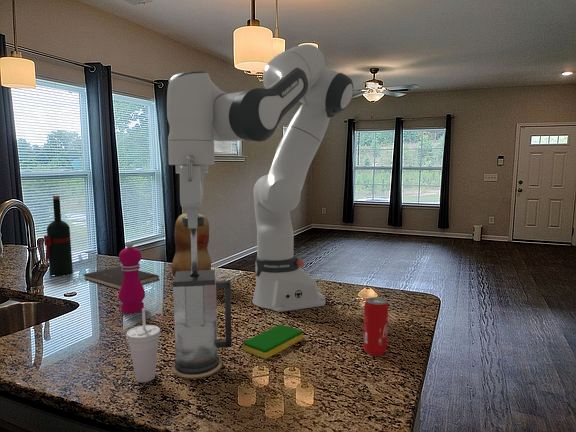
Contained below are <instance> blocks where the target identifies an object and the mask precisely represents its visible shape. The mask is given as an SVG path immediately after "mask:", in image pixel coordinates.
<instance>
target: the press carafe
mask: <svg viewBox="0 0 576 432" xmlns="http://www.w3.org/2000/svg"><path fill="white" fill-rule="evenodd" d="M215 273H216V272H215V269H211V270H198V277H192V271H176V274H175V277H174V276H173V277H174V278H173V280H172V291H173V295H172V296H173V321H174V344H175V345H174V347H175V348H174V349H175V350H174V351H175V358H174V361H173V362H172V364H171V372H172V374H173V375H174V376H176V377H178V378H180V379H186V380H198V379H204V378H207V377H210V376H213V375H215V374H217V373H218V372H220V370H221V369H222V367H223V359H222V357H220V355H219V353H218V352H219V351H218V350H219V349H224V348H232V347H233V345H232V344H233V343H232V342H233V341H232V339H233V338H232V291H231V289H232V287H231V285H232V283H231V282H232V281H231V280H218V281H217V278H216V274H215ZM219 289H224V317H225V318H224V325H225V327H224V329H225V330H224V332H225V339H218V316H217V315H218V314H217V290H219ZM216 372H217V373H216Z"/></svg>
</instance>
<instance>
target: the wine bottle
mask: <svg viewBox="0 0 576 432" xmlns="http://www.w3.org/2000/svg"><path fill="white" fill-rule="evenodd" d="M52 198H53V199H52V203H53V216H54V217H53V219H54V221H52V222H50V223H49V224H48V225H47V227H46V235H44V236H43V241H44V242H43V243H44V246H46V247H45V259H44V261H45V260H46V261H47V263H48V268H49V269H48V270H49V271H48V272H49V276H50V275H55V276H54V277H63V275H65V276H68V274H69V275H72V274H73V273H74V269H73V268H74V267H73V259H72V258H73V255H72V241H71V229H70V228H71V227H70V225H69V224H68V223H67V222H65V221H63V220H62V214H61V199H60V195H52Z"/></svg>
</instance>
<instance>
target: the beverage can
mask: <svg viewBox="0 0 576 432" xmlns="http://www.w3.org/2000/svg"><path fill="white" fill-rule="evenodd" d="M363 307H364V309H363V310H364V311H363V312H364V314H363V315H364V317H363V349H364V352H365V353H366V354H367V355H369V356H372V357H380V356H383V355H385V353H386V351H387V350H388V349H387V348H388V325H389V323H388V320H389V304H388V300H387V299H385V298H383V297H376V296H375V297H374V296H373V297H372V296H371V297H367V298H366V299H365V302H364V306H363Z"/></svg>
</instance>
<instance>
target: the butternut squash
mask: <svg viewBox="0 0 576 432" xmlns="http://www.w3.org/2000/svg"><path fill="white" fill-rule="evenodd" d="M186 216H187V212H185V213H182V214H180V215H179V216H178V217H177V219H176V220H175V226H174V245H175V253H174V256H173V259H172V263H171V274H172V275H173V277H175V274H176V271H192V264H191V228H189V227H184V226H182V217H186ZM198 216H203V217H204V219H205V225H204V226H199V227H197V263H198V270H212V260H211V256H210V254H209V252H208V245H209V242H210V224H209V220H208V217H206V216H205V215H203V214H201V213H198Z"/></svg>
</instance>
